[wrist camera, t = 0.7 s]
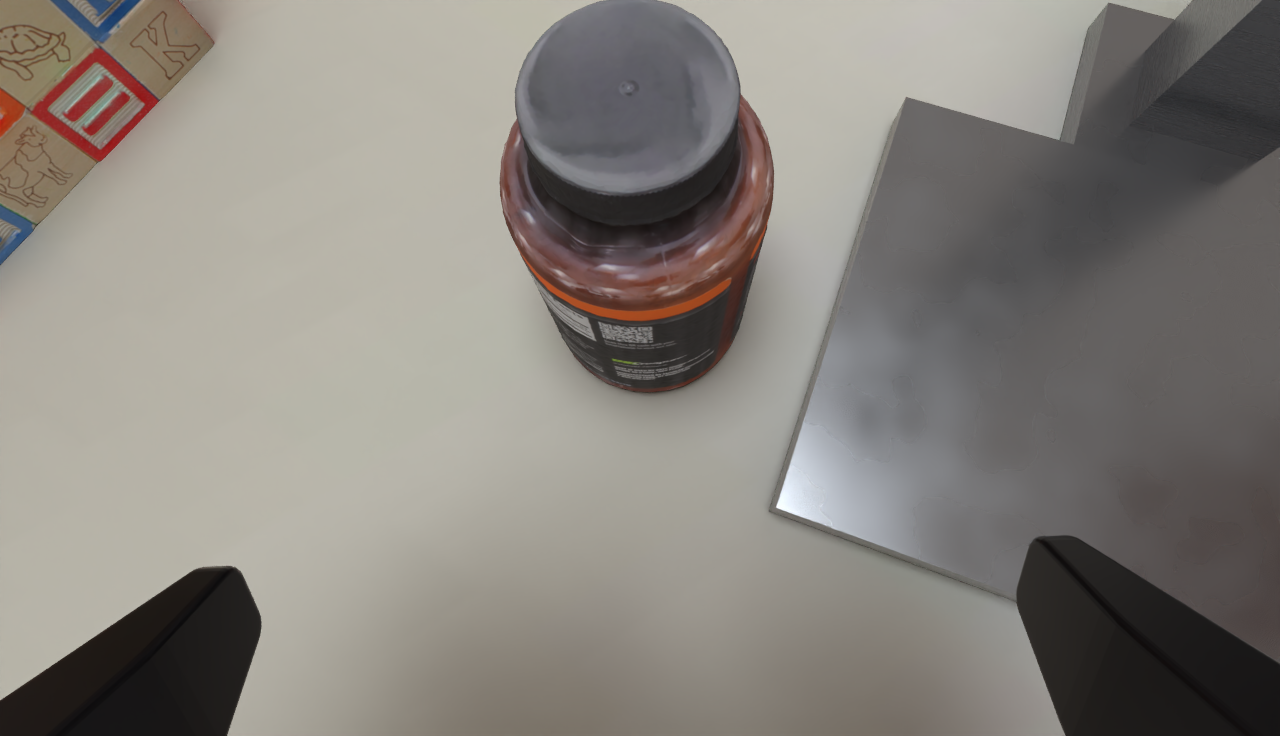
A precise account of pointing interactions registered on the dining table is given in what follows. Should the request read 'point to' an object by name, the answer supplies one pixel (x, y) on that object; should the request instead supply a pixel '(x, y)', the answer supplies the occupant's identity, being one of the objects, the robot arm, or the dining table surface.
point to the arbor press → (1071, 329)
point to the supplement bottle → (637, 190)
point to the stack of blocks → (78, 91)
